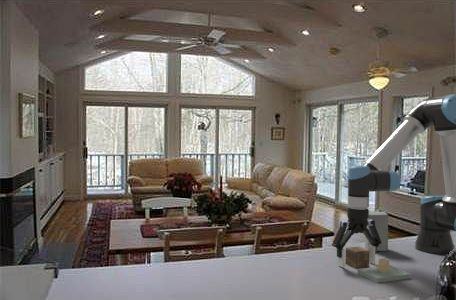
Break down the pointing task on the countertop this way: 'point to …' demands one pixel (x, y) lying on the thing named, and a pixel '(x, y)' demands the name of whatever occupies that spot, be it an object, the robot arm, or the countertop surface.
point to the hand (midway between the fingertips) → (356, 264)
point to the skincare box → (379, 229)
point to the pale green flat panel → (383, 272)
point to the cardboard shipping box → (357, 257)
